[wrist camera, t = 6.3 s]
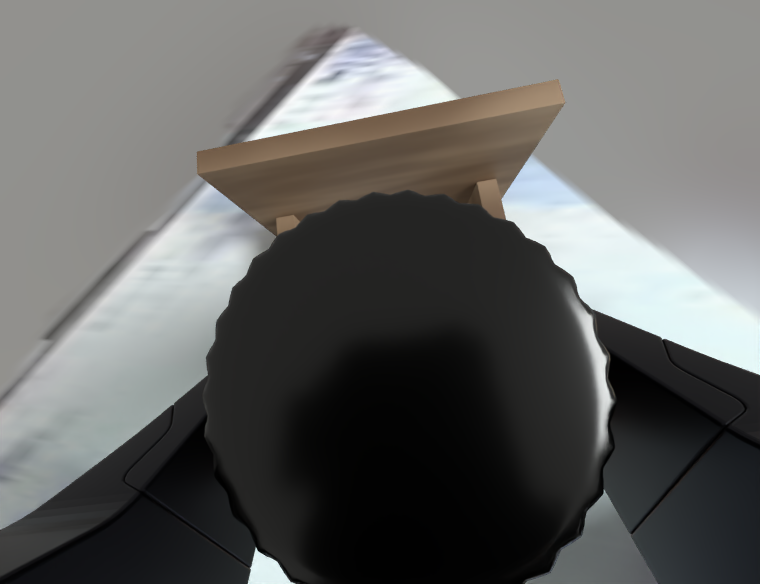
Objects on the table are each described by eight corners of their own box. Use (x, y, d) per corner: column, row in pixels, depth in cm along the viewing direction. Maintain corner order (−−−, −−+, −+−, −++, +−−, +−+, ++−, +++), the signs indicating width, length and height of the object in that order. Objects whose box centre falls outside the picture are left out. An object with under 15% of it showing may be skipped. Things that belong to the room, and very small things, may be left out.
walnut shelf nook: (516, 272, 20) (600, 220, 11) (286, 308, 21) (200, 286, 13) (496, 187, 21) (558, 79, 13) (279, 225, 23) (196, 151, 14)
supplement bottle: (325, 320, 16) (79, 241, 4) (439, 270, 16) (521, 40, 4) (373, 444, 14) (195, 889, 3) (498, 391, 14) (924, 607, 2)
